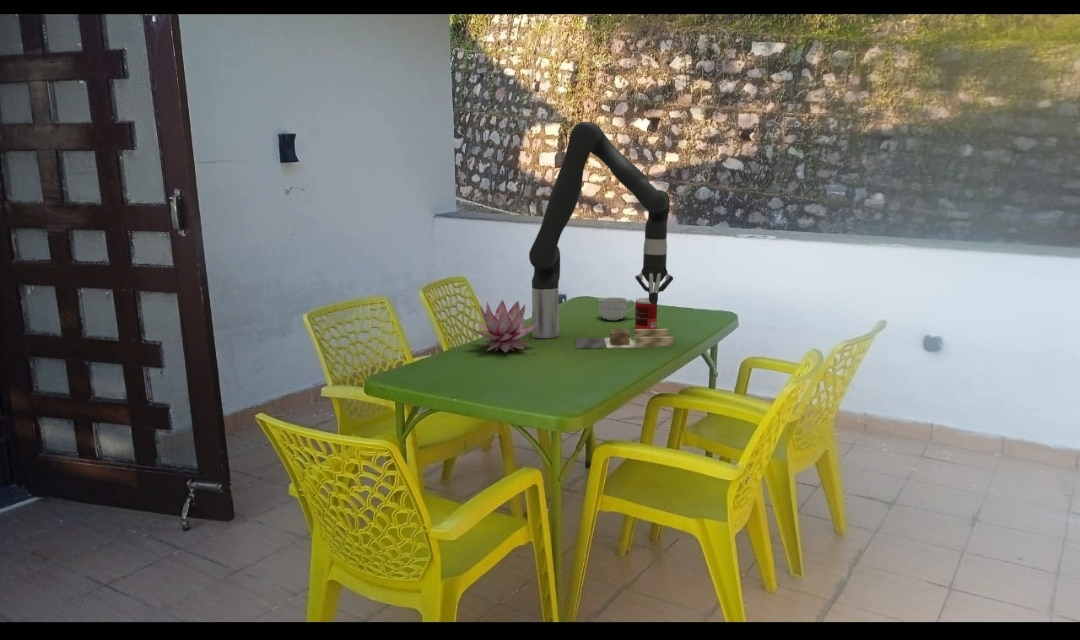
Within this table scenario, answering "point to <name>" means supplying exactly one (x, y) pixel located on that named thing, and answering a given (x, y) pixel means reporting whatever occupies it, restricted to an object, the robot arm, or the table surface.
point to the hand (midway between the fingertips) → (653, 303)
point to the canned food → (645, 314)
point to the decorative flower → (504, 327)
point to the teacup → (614, 307)
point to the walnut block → (619, 336)
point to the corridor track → (642, 335)
